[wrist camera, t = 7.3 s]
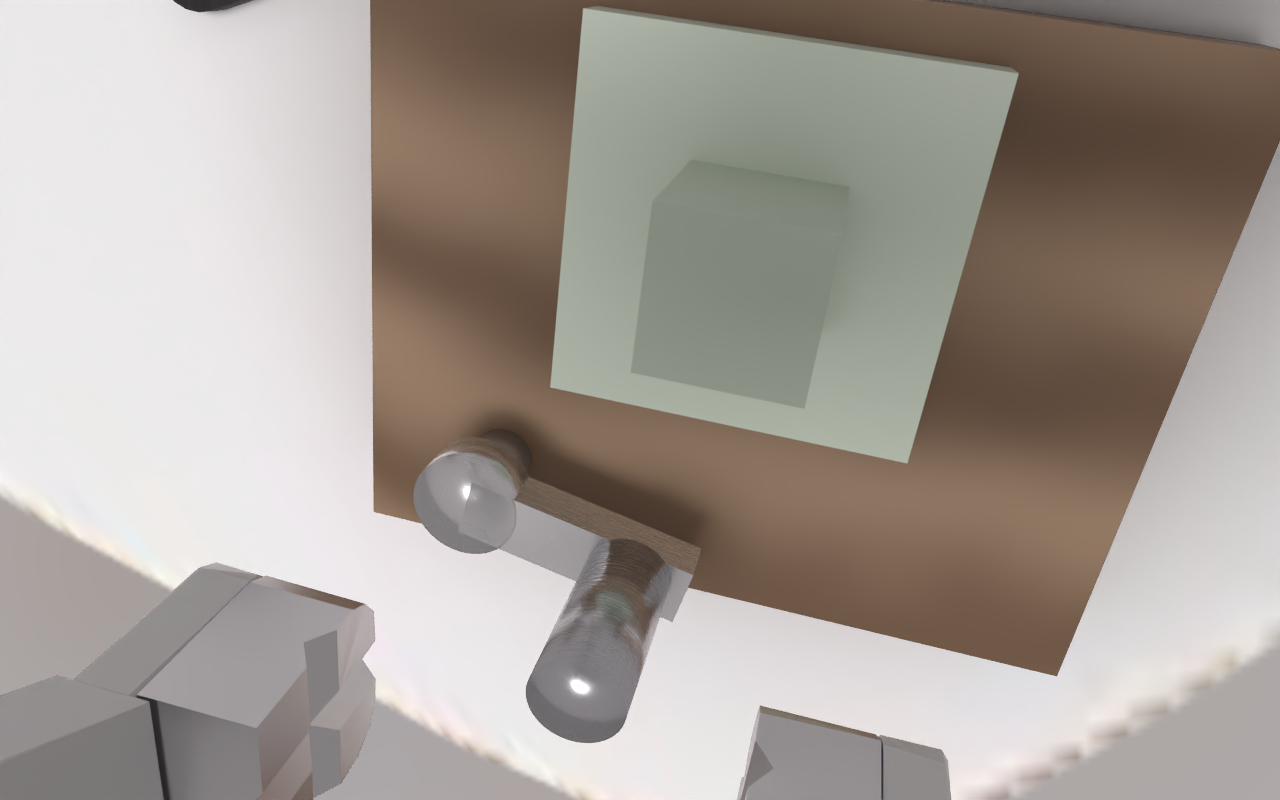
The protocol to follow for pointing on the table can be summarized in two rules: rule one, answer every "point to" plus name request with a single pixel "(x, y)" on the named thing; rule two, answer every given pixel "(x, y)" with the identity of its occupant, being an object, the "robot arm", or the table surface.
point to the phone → (209, 4)
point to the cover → (768, 225)
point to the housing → (970, 351)
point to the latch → (575, 548)
